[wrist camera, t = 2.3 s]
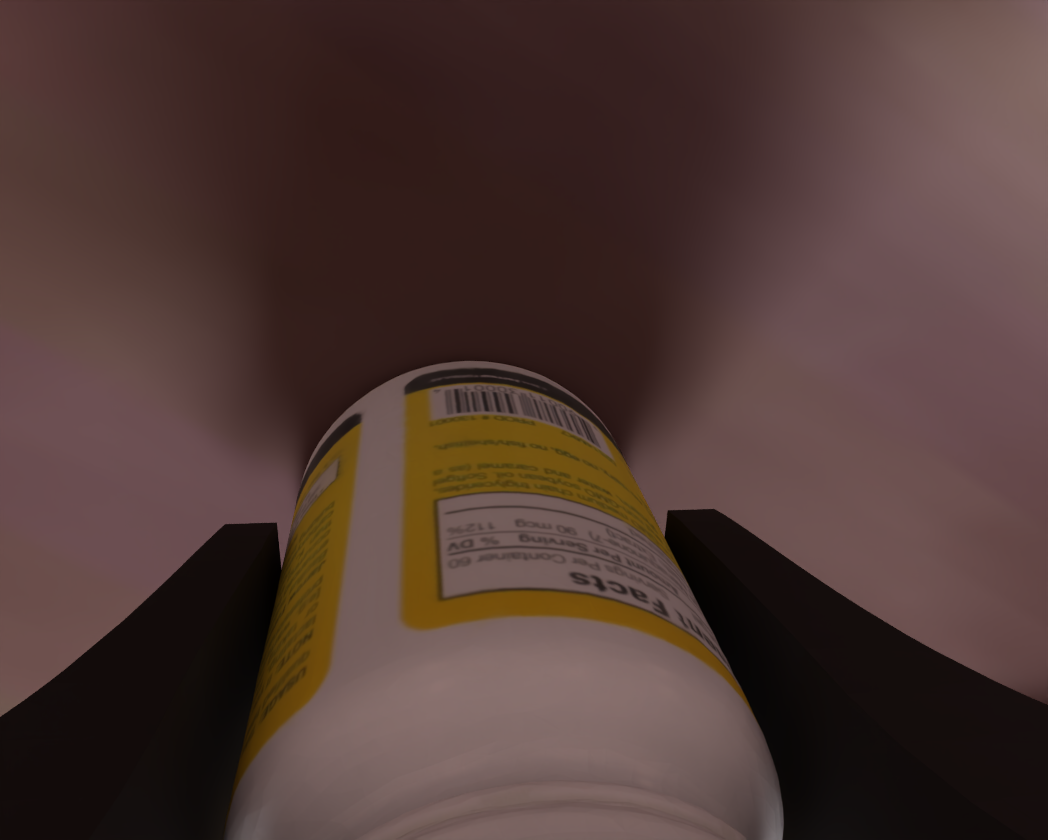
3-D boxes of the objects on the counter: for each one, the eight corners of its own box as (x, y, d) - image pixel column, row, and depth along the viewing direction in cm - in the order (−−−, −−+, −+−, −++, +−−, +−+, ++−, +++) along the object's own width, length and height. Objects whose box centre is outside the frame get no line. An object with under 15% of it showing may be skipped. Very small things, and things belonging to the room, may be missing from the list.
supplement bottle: (399, 680, 14) (385, 1460, 6) (235, 446, 12) (-69, 1180, 4) (673, 554, 14) (1001, 1229, 6) (549, 292, 12) (807, 807, 4)
